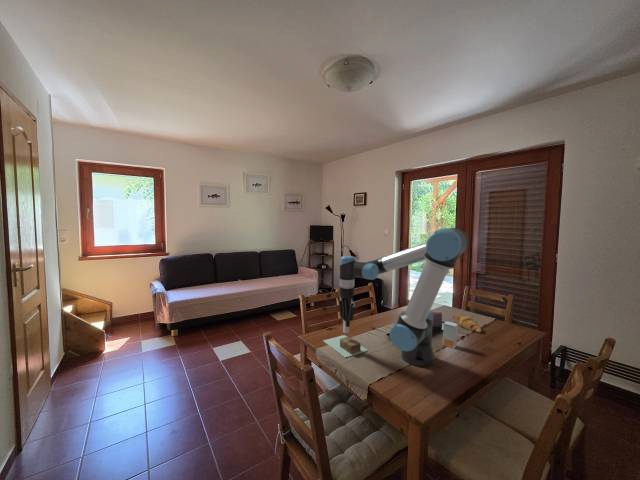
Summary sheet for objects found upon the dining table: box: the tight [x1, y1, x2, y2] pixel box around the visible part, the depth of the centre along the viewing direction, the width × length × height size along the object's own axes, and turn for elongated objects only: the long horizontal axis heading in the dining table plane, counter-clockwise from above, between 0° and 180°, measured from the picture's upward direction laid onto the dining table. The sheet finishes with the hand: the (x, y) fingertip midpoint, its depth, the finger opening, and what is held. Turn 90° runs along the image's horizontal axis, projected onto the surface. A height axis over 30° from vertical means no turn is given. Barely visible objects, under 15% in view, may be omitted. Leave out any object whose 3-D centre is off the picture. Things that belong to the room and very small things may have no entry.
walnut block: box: [340, 336, 362, 354], centre depth 135 cm, size 4×6×9 cm
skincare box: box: [441, 320, 459, 350], centre depth 140 cm, size 6×4×12 cm
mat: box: [322, 334, 369, 359], centre depth 139 cm, size 20×14×1 cm
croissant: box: [452, 314, 482, 333], centre depth 166 cm, size 21×10×8 cm, turn 17°
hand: (346, 332), depth 138 cm, fingers closed
